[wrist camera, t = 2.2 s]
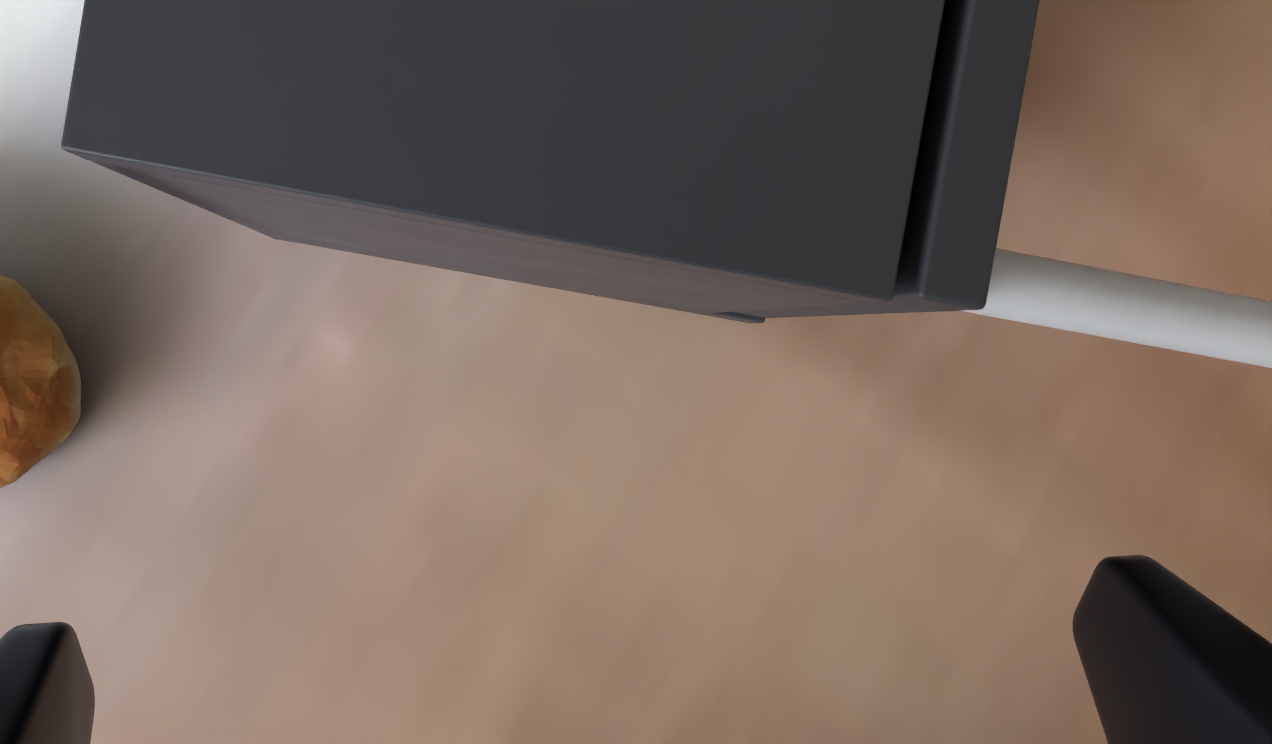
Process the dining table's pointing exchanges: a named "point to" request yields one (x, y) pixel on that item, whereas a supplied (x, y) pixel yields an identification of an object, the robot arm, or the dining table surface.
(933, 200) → the oven door
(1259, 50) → the dining table surface
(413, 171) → the oven
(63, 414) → the pastry
